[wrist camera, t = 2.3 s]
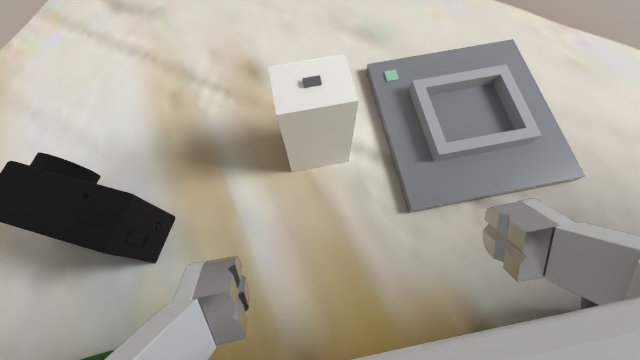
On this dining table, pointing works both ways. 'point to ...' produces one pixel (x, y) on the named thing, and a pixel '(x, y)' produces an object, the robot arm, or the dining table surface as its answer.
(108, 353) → the milk carton
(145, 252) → the digital camera
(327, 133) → the charger brick
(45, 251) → the dining table surface
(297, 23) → the dining table surface
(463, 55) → the socket plate
